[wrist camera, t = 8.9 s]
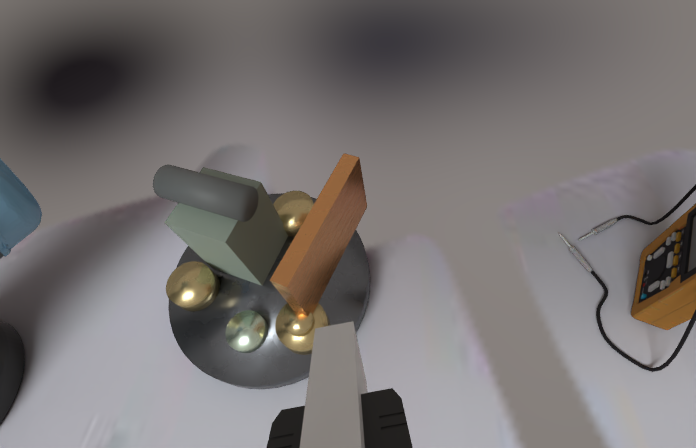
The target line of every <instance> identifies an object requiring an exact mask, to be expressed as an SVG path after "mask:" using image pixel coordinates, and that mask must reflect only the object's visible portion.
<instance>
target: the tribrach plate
mask: <svg viewBox="0 0 696 448" xmlns="http://www.w3.org/2000/svg"><path fill="white" fill-rule="evenodd" d="M268 196H269V198H270V200H271V202H272V204H273V205H274V207H275V209H276V211H277V213H278V215H279V217H280V219H281V220H282V222H283V224H284V225H283V227H284V229H285V231H286V233H287V235H288V237H287V239H286V241H285V243H284V245H283V247H282V249H281V251H280V253H279V255H278V257H277V259H276V260H275V262H274V264H273V266H272V268H271V270H270V272H269V274H268V276H267V278H266V280H265V282H264V284H263V286H262V285H259V284H256V283H253V282H250V281H247V280H244V279H242V278H239V277H236V276H233V275H230V274H227V273H224V272H222V271H219V270H216V269H213V268H211V267H210V266H209V265H208V264H207V263H206V262H205V261H204V260H203V259H202V258H201V257H200V256H199V255H198V254H197V253H196V252H195V251H194V250H192V249H191V248H190V247H189V246H188V247H187V248H186V250H185V252H184V254H183V255H182V257H181V259H180V261H179V263H178V265H177V268H176V269H175V270H174V271H173V273H172V274H171V275H170V277H169V279H168V281H167V285H166V293H167V296H168V298H169V316H170V323H171V327H172V331H173V334H174V336H175V338H176V341H177V343H178V345H179V346H180V348H181V350H182V351H183V353H184V354H185V355H186V356H187V358H188V359H189V360H190V361H191V362H192V363H193V364H194V365H195V366H197V367H198V368H199V369H200V370H202V371H203V372H205V373H206V374H208V375H210V376H212V377H214V378H216V379H218V380H221V381H223V382H226V383H229V384H232V385H234V386H238V387H243V388H248V389H270V388H278V387H282V386H286V385H290V384H293V383H296V382H298V381H301V380H303V379H306V378H308V377H309V372H310V364H311V356H312V354H308V355H300V354H296V353H294V352H292V351H291V350H289V349H288V348H287V347H286V346H285V345H284V344H283V343H282V342H281V341H280V340H279V338H278V336H277V334H276V330H275V323H276V318H277V316H278V313H279V312H280V310H281V309H282V308H283V307H284V306H285V305H286V304H287V302H286V300H285V299H284V298H283V297H282V295H281V294H280V293H279V291H278V290H277V289H276V288H275V286H274V285H273V284H272V283H271V281H270V279H271V277H272V275H273V274H274V272H275V270H276V268H277V267H278V265H279V263H280V262H281V260H282V258H283V257H284V255H285V253H286V251H287V250H288V248H289V246H290V245H291V243H292V241H293V239H294V238H295V236H296V234H297V233H298V231H299V229H300V227H301V226H302V224H303V222H304V221H305V219H306V217H307V215H308V214H309V212H310V210H311V209H312V207H313V205H314V203H315V202H316V200H317V199H315V198H312V197H310V196H309V195H308V194H306V193H304V192H301V191H290V192H287V193H285V194H271V195H268ZM369 292H370V273H369V265H368V260H367V256H366V252H365V249H364V245H363V243H362V241H361V238H360V236H359V234H358V233H357V231H356V230H355V232H354V233H353V235H352V237H351V239H350V241H349V243H348V245H347V247H346V249H345V251H344V253H343V255H342V257H341V259H340V261H339V263H338V265H337V267H336V269H335V271H334V273H333V275H332V277H331V279H330V281H329V283H328V285H327V287H326V289H325V291H324V293H323V295H322V296H321V298H320V300H319V302H318V303H319V304H320V305H321V306H322V308H323V309H324V311H325V313H326V315H327V316H328V318H329V321H330V326H331V325H336V324H341V323H346V322H352V321H353V322H354V327H355V332H356V331H357V330H358V328H359V326H360V323H361V321H362V319H363V317H364V314H365V311H366V307H367V304H368V299H369Z"/></svg>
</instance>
